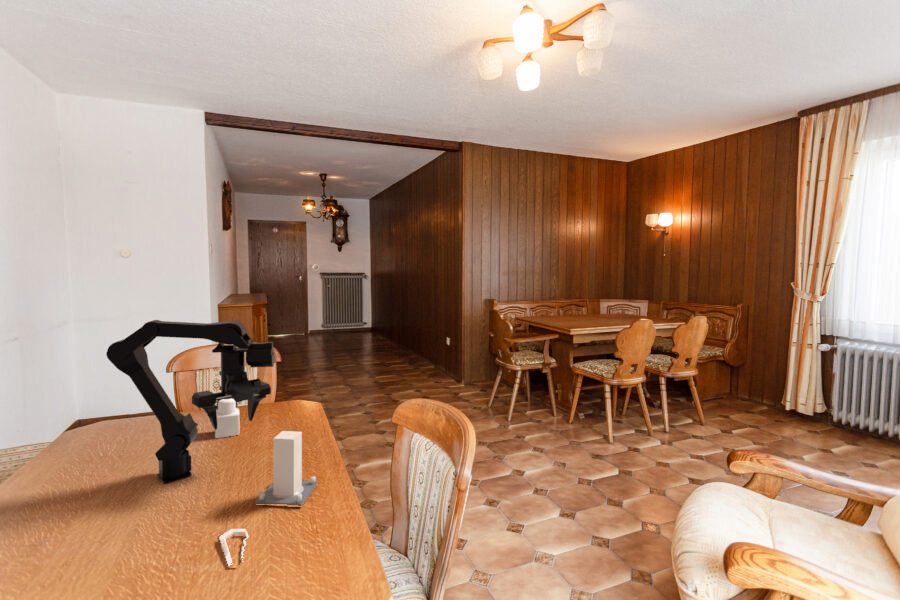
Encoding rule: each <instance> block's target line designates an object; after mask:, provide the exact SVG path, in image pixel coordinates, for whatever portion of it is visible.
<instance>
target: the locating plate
mask: <svg viewBox="0 0 900 600" xmlns="http://www.w3.org/2000/svg"><path fill="white" fill-rule="evenodd" d="M316 479H317V477H316V476H315V475H313V476H310V477H309V480H302V486H301V487H300V489H299V490H298V491H297V493H296V494H295V495H294V496H285V495H273V482H272V483H271V484H270V486H268V487H267V489H266V490H264V491H260V492H258V498H257V499H256V500H255V505H256V504H287V505H298V506H301V505H302V504H303V503H304V501H305V500H306V499H307V497H308V496H309V494H310V493H311V492H312V490H313V489H314V487H315V486H316V484H317V483H318V484H319V481H317V480H316Z"/></svg>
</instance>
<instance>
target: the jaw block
mask: <svg viewBox="0 0 900 600" xmlns="http://www.w3.org/2000/svg"><path fill="white" fill-rule="evenodd" d="M272 440H273V444H272V446H273V453H272V455H273V457H272V459H273V465H272V466H273V467H272V468H273V470H272V471H273V472H272V473H273V476H272V477H273V481H272V483H273V495H285V496H294V495H295V494H296V493H297V491H298V490H299V489H300V487H301V486H302V481H303V472H302V471H303V431H296V430H295V431H294V430H282V431H280V432H279V433H278V434H277V435H275V436H274V437H273V439H272Z"/></svg>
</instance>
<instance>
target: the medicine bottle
mask: <svg viewBox="0 0 900 600" xmlns="http://www.w3.org/2000/svg"><path fill="white" fill-rule="evenodd" d="M216 406H218V407H217V410H216V415H217V429H216V430H215V429H214V438H215V439H222V438H230V437H229V436H231V437H236V435H238V436H239V435H240V408H238V402H236V401H234V399H233V397H231V398H226V399H220V400H216Z"/></svg>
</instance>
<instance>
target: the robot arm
mask: <svg viewBox="0 0 900 600" xmlns="http://www.w3.org/2000/svg"><path fill="white" fill-rule="evenodd" d="M156 338H179V339H181V338H184V339H203V340H209V341H211V342H214V343H218V344H217V346H215V347H214V348H213V349H212V350H211V353H216V354H217V353H220V371H218V373H219V376H220V385H219V390H220V391H219V392H212V391H211V390H204V391H199V392H194V393H193V394H192V396H191V404H192V405H194V406H195V407H197V408H198V409H202V410H203V411H204V412H205V413H206V416H207V418H208V419H209V420H210V421H209V422H210V423H211V426H212V428H213V429H214V431H215V430H216V429H217V415H216V411H217V407H218V406H217V400H220V399H226V398H231V397H233V399H234V401H236V402H237V403H241V402H243V401H247V416H248V421H250V422H252V421H253V418H254V416H255V413H256V411H257V409H258V406H259V405H260V403H261V401H262V400H263V399H266V398H267V395H271V394H272V386H271V385H270V383H267V382H265V381H262V380H261V379H260V378H254V379H249V378H248V374H247V373H248V372H247V371H245V366H246V365H245V364H247V366H250V368H274V366H275V358H276V357H275V356H276V355H275V351H274V342H273V341H266V342H254V340H253V339H252V337H250V335H249V334H248V333H247V330H246V326H245V324H244V323H243V322H241V321H239V320H226V321H219V322H210V323H204V322H203V323H201V322H185V321H184V322H183V321H182V322H181V321H164V320H159V319H154V320H151V321H148V322H145V323H144V324H143V325H142V326H141V327H139V329H137V330H136V331H134V332H132V333H131V334H130V335H128V336H127V337H125V338H123V339H121V340H118V341H116V342H113V343H112V344H110V345H109V346H108V347H107V350H106V352H105V353H106V354H105V355H106V357H107V359H108V361H109V362H110V363H111V364H112V365H113V366H114V367H115V368H116V369H118V370H119V371H120V372H122V373H124V374H125V375H127V377H129V379H130V380H131V381H132V382H133V384H134V385H135V387H136V389H137V391H138V392H139V393H140V395H141V397H142V398H143V400H144V401H145V402H146V403H147V405H148V407H149V408H150V409H151V411H152V412H153V414H154V416H155V417H156V418H157V420H158V422H159V424H160V429H161V430H160V431H161V437H162V438H163V441H164V443H163V445H161V447H159V449H158V450H157V451H156V452H155V453H154V454H155V457H156V459H157V461H158V472H157V474H156V477H158V479H159V480H160V481H161V482H162V483H163V484H168V483H173V482H175V481H178V480H179V481H180V480H182V479H185V478H188V477H191V476H192V474H193V473H192V472H191V471H192V456H191V454H190V451H189V450H188V448H189V447H190V446H191V444H193V442H194V441H195V439H197V436H198V431H199V430H198V425H199V424H198V423H197V422H196V421H195V420H194V419H193V416H192V414H191V412H190V413H187V414H186V415H184V414H183V413H181V412H179V410H178V409H177V408H176V406H175V405H174V403H173V402H172V400H171V398H170V397H169V396H168V394H167V392H166V391H165V389H164V388H163V386H162V385H161V382H159V380H158V378H157V376H155V373H154V372H153V370H152V369H151V368H150V364H149V358H148V354H147V351H146V347H147V346H148V345H150V344H151V343H152V342H153V341H154V340H155V339H156Z"/></svg>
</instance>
